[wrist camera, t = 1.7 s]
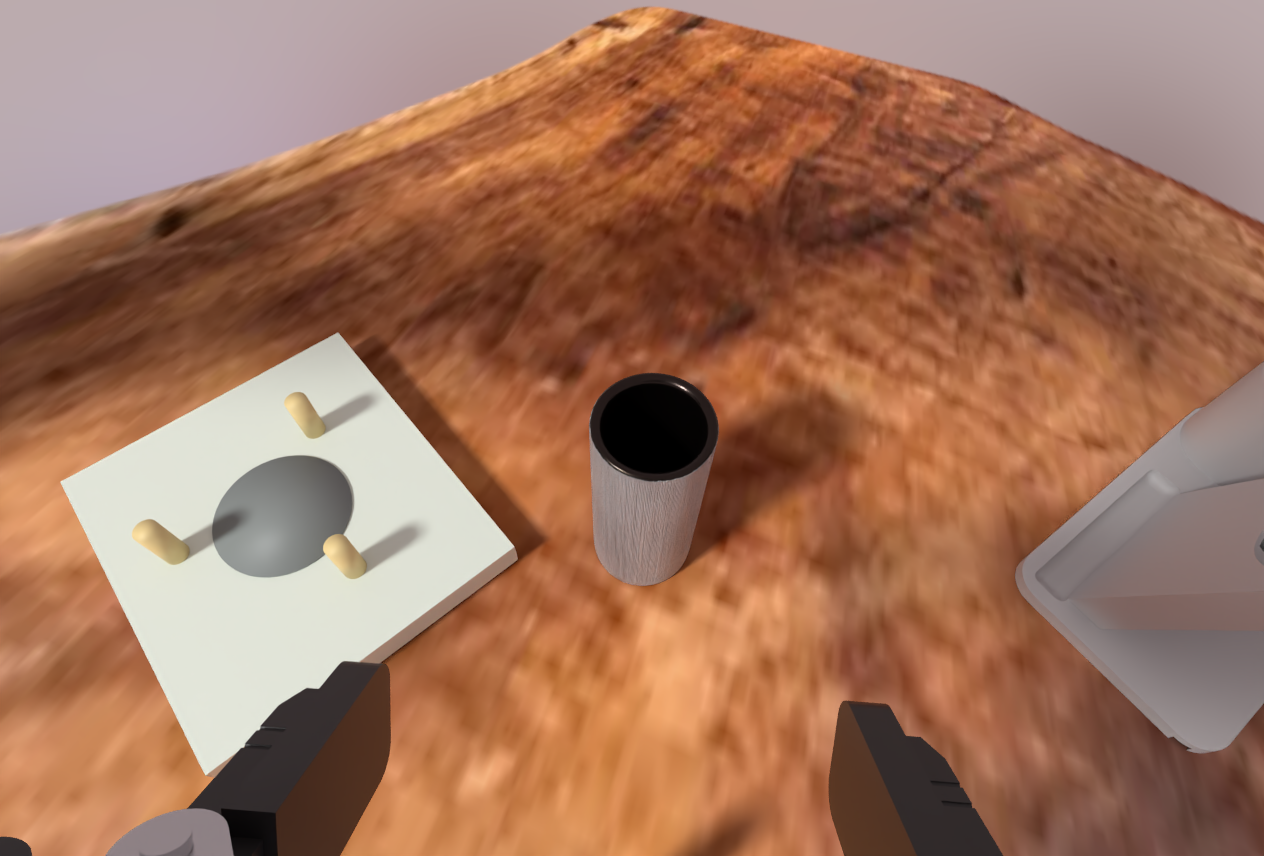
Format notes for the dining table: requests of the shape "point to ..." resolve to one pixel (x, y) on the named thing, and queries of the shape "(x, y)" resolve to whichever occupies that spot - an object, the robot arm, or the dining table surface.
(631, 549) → the grey metal tumbler
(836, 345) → the dining table surface
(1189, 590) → the phone holder
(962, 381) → the dining table surface
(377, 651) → the board
